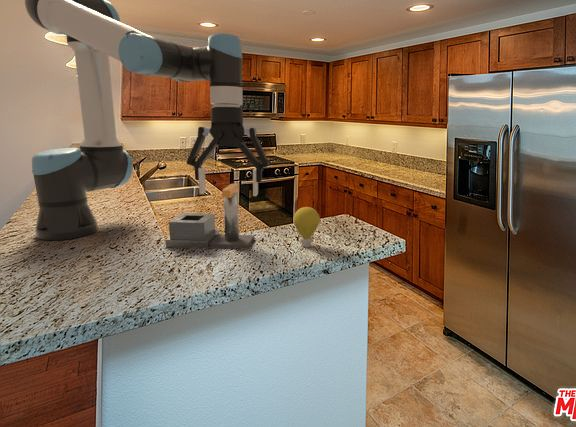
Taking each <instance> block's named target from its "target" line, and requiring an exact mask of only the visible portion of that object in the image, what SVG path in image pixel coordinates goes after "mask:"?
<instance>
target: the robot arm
mask: <svg viewBox="0 0 576 427" xmlns="http://www.w3.org/2000/svg"><path fill="white" fill-rule="evenodd" d="M24 5H25V8H26V9H25V10H26V12H27V14H28V16H29V17H30V18H31V20H32V21H33V22H34V23H35V24H36V25H37V26H38V27H40V28H42V29H44V30H46V31H49V32H51V33H53V34H55V35H63V36H66V43H67V46H68V47H69V48H71V50H73V52H74V58H75V59H74V60H75V67H76V68H75V69H76V76H77V77H76V78H77V84H78V94H79V102H80V110H81V120H82V126H83V127H82V128H83V137H84V139H83V140H82V142H80V144H79V148H78V147H61V148H53V149H49V150H44V151H39V152H37V153H35V154H34V155H33V156H32V158H31V166H32V167H31V168H32V170H31V173H32V174H33V180H34V186H35V190H36V196H37V202H38V207H39V209H38V216H37V218H36V225H35V236H36V239H39V240H43V241H65V240H71V239H77V238H81V237H85V236H88V235H91V234H93V233H96V232H97V231H98V229H99V227H98V222H97V219H96V216H95V215H94V213H93V212H92V209H91V208H90V206H89V204H88V197H87V193H90V192H95V191H100V190H105V189H115V188H116V187H121V186H124V185H125V184H127V183H128V182H129V181H130V179H131V177H132V175H133V170H134V165H133V164H134V163H133V162H134V161H133V160H132V159H133V158H132V157H131V156H130V153H129V152H128V151H127V150H125V149H124V148H123V147H124V146H123V143H122V142H121V141H119V140H118V139H117V130H116V120H115V110H114V99H113V88H112V77H111V67H110V58H109V57H111V58H113V59H116V60H117V61H119V62H121V64H122V65H123V66H124V69H126V70H128V72H131V73H133V74H139V75H142V76H151V77H152V76H153V77H158V78H159V77H160V78H166V79H167V78H168V79H172V80H173V81H175V82H185V83H190V82H201V81H209V97H210V98H209V99H210V104H211V105H212V107H211V108H210V122H211V126H210V127H206V126H199V127H198V129H197V137H196V139H195V142H194V144H193V146H192V147H191V150H190V153H189V155H188V157H187V160H186V165H188V166H192V167H193V168H194V178H195V181H198V192H199V194H198V195H204V194H205V193H206V188H207V187H206V167H205V166H203V164H204V163H205V162H206V160H207V159H208V158H209V157H210V155H211V154H212V153H213V152H214V151H215V149H216V148H217V147H218V146H220V147H226V146H227V147H235V146H236V147H237V148H239V150H240V151H241V152H242V153H243V154H244V155H245V157H246V158H247V159H248V161H249V162H250V163H251V164H252V165H253V166H254V167H255V168H254V169H252V196H253V197H257V196H258V194H259V183H261V182H262V181H263V169H265V168H267V167H269V166H270V161H269V159H268V157H267V155H266V153H265V151H264V148H263V146H262V145H261V142H260V140H259V137H258V135H257V134H258V133H257V128H256V127H250V128H244V114H243V112H244V111H243V110H244V109H243V108H242V107H241V106H242V105H243V101H244V100H243V99H244V98H243V50H242V40H241V38H240V37H238V36H237V35H235V34H232V33H231V34H230V33H219V32H218V33H213V34H209V36H208V39H207V40H208V41H207V45H205V46H196V47H195V46H193V47H191V46H187V45H183V44H178V43H174V42H171V41H167V40H164V39H159V38H156V37H153V36H151V35H149V34H146V33H145V32H141V31H140V30H137V29H135V28H133V27H131V26H129V25H126V24H125V23H122V22H121V18H120V15H119V13H118V10H117V9H116V8H115V7H114V5H113V4H112V3H111V2H110V1H108V0H24ZM209 134H210V136H211V137H212V138H213V139H212V140H211V141H210V143H209V144H208V146H207V147H206V149H204V151H203V152H202V153H201V154H200V155H199V153H200V151H201V148H202V147H203V144H204V142H205V139H206V137H208V136H209ZM245 135H246V136H247V137H248V138H250V142H251V143H252V146H253V147H254V149H255V151H256V154H257V156H258V158H259V159H260V161H259V159H258V158H257V157H256V155H255V154H254V153H253V152H252V150H250V148H249V146H248V145H246V143H245V141H244V140H243V137H244V136H245ZM198 156H199V157H198ZM197 157H198V158H197Z"/></svg>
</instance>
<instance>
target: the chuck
mask: <svg viewBox="0 0 576 427" xmlns="http://www.w3.org/2000/svg"><path fill="white" fill-rule="evenodd" d="M215 215H216V214H215V213H196V212H195V213H188V212H187V213H186V212H185V213H184V212H183V213H181V214H179V215H177V216H176V217H174V218H173V219H171V220H169V221H168V230H169V237H167V238H166V239H165V240H164V242H165V248H178V249H181V248H182V249H203V248H205V249H208V250H209V249H210V245H209V244H210V243H211V242H212V241H213V240H214V239H215V237H216V236H217V235H218V234H221V232H220V231H221V230H220V229H216V216H215ZM179 247H181V248H179Z"/></svg>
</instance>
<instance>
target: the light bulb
mask: <svg viewBox="0 0 576 427" xmlns="http://www.w3.org/2000/svg"><path fill="white" fill-rule="evenodd" d="M292 220H293V221H292V222H293V225H294V226H295V229H296V231H297V232H298V234H299V235H300V237H299V242H300V243H301V247H304V248H309V247H311V246H312V243H313V241H314V239H313V235H314V233H315V232H316V231H317V228H318V226H319V225H320V222H321V217H320V214H319V213H318V212H317V210H316V209H314V208H313V207H310V206H305V207H304V206H303V207H300V208H299V209H297V211H295V213H294V214H293V218H292Z"/></svg>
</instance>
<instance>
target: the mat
mask: <svg viewBox="0 0 576 427" xmlns="http://www.w3.org/2000/svg"><path fill="white" fill-rule="evenodd" d="M254 240H255V235H253V234H252V235H251V234H250V235H249V234H239V240H238V241H233V242H230V241H226V240H225V233H224V234H222V233H220V234H218V235H217V236H216V237H215V239H214V240H213V241H212V242H211V243H210V244H209V245H210V248H211V249H212V248H213V249H237V250H238V249H240V250H241V249H242V250H243V249H244V250H249V248H250V246H252V243H253V242H254ZM210 248H209V249H210Z"/></svg>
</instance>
